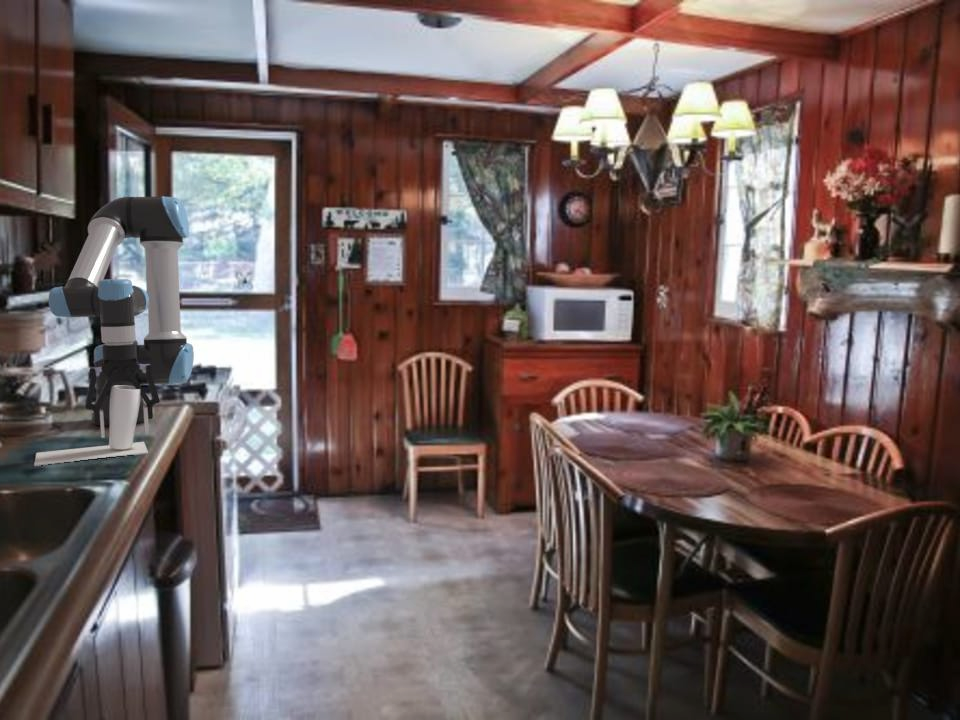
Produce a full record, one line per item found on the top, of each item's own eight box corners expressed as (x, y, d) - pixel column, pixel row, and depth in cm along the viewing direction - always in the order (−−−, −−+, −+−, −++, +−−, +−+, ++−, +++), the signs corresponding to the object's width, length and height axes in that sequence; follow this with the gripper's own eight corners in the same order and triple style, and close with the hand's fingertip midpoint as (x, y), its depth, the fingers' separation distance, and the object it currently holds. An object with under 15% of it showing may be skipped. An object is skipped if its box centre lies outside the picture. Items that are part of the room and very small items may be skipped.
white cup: (134, 451, 191) (140, 390, 190) (103, 449, 188) (109, 388, 187) (136, 445, 197) (142, 386, 196) (106, 443, 195) (112, 384, 194)
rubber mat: (144, 443, 201) (143, 441, 201) (148, 453, 190) (148, 452, 190) (36, 454, 190) (36, 452, 190) (34, 466, 179) (34, 464, 179)
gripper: (165, 339, 198) (171, 427, 201) (68, 344, 188) (75, 436, 191) (169, 342, 192) (174, 432, 194) (68, 347, 182) (75, 442, 185)
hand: (125, 434), depth 193 cm, fingers open, 9 cm apart
